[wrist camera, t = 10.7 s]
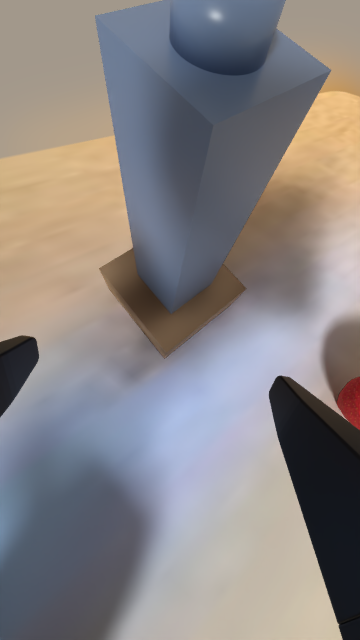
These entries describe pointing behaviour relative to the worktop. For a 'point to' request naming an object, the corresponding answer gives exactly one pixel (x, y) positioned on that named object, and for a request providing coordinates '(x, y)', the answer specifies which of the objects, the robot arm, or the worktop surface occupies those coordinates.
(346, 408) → the strawberry
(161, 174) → the blue-grey tall block
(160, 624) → the worktop surface
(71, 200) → the worktop surface
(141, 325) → the walnut base
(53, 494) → the worktop surface
